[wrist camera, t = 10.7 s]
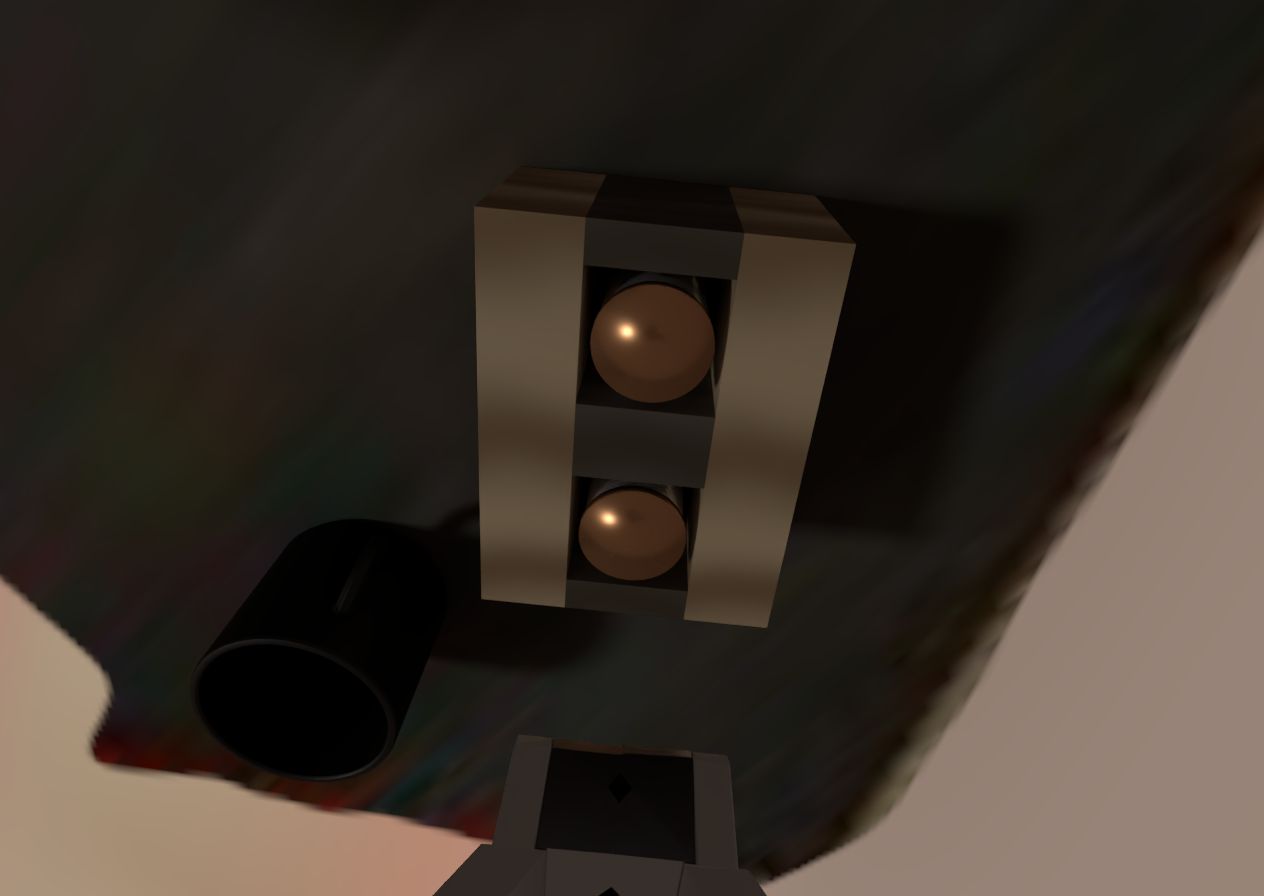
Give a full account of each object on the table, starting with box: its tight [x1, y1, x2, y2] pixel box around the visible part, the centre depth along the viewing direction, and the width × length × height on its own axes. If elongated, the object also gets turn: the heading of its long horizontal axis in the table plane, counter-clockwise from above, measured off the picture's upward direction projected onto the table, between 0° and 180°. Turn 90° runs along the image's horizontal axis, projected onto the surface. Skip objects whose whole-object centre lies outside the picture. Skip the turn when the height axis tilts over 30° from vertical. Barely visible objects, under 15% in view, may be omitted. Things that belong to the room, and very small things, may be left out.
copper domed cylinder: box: [590, 268, 715, 403], centre depth 28 cm, size 4×4×8 cm
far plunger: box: [579, 477, 686, 580], centre depth 32 cm, size 4×4×8 cm
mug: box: [190, 521, 447, 782], centre depth 37 cm, size 9×12×9 cm
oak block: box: [474, 166, 856, 628], centre depth 31 cm, size 16×12×8 cm
